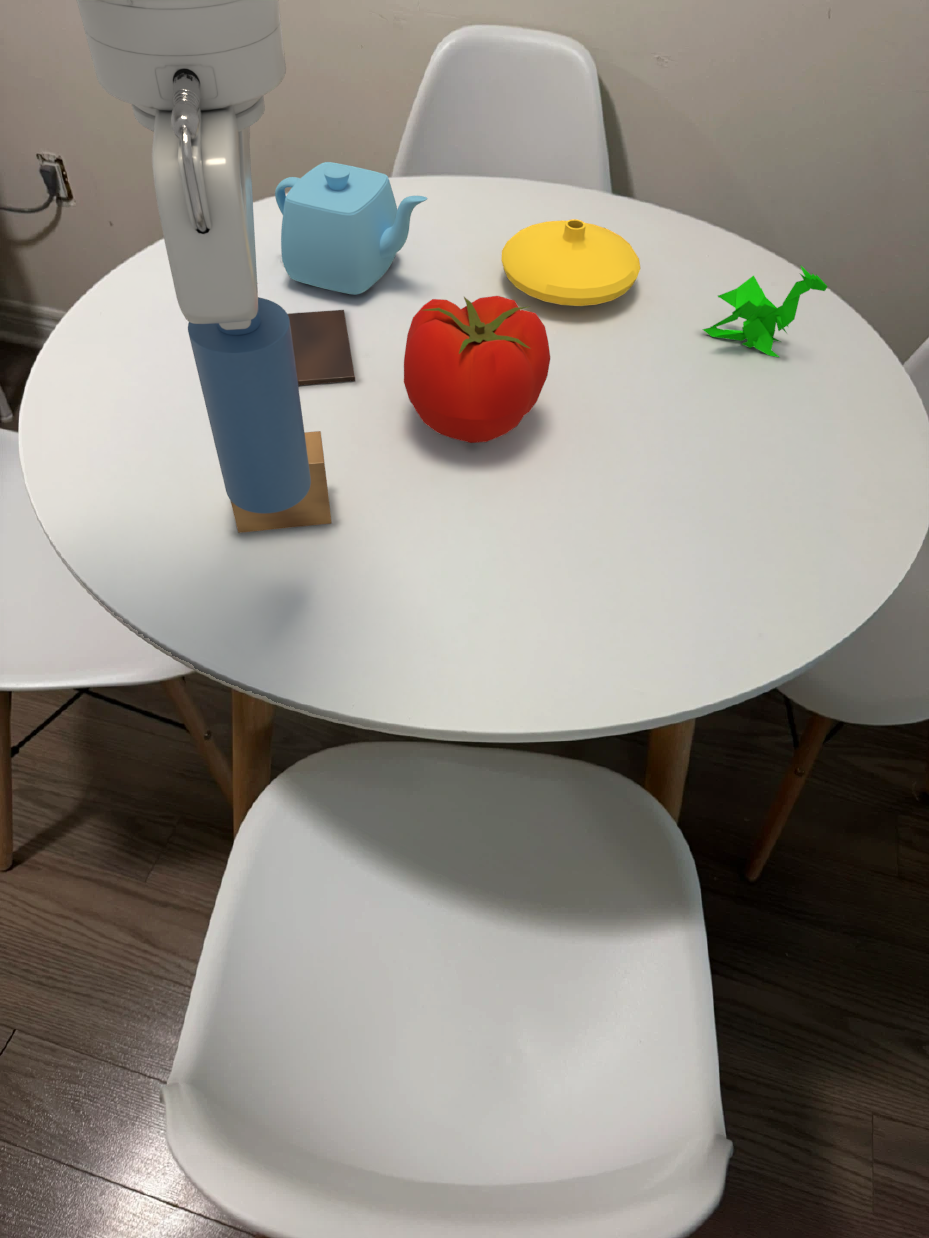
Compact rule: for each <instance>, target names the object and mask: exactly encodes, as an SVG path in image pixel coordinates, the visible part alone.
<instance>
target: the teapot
mask: <svg viewBox="0 0 929 1238" xmlns="http://www.w3.org/2000/svg"><path fill="white" fill-rule="evenodd" d="M287 188H290V189H289V191H288V192H287V194H286V189H287ZM393 191H394V190H393V188H392V184H391V181H390V178H389V176H388V175H387V174H386V173H382V172H380V171H379V172H378V171H375V170H370V169H367V168H362V167H358V166H353V165H349V164H343V163H337V162H331V161H325V162H322V163H319V164H318V165H316V166H314V167H313V168H311V169H310V170H309V171H307V172H306V173H305V174H304V175H303V176H301V177H296V176H289V177H285V178H284V179H282V180H281V181H280V182H279V183H278V184H277V186H276V187H275V191H274V198H275V202H276V205H277V207H278V209H279V211H280V213H281V215H282V221H281V231H280V251H281V261H282V264H283V265H282V266H283V267H284V269H285V272H286V273H287V275H288V277H289V278H290V279H291V280H293V281H296V282H299V283H302V284H306V285H309V286H313V287H317V288H320V289H325V290H329V291H333V292H338V293H343V294H349V295H355V296H356V295H360V294H363V293H365V292H366V291H368V290H369V289H370V288H371V287H373V286H374V285H375V284H376V283H377V282H378V281H379V280H380V279H381V278H382V277H383V276H385V274H386V273H387V271H388V270H389V269H390V267H391V265H392V263H393V261H394V260H395V258H396V255H397V253H398V252H400V251H401V250H402V248H403V247H404V246H405V244H406V242H407V240H408V236H409V232H410V226H411V225H410V224H411V216H412V213H413V211H414V209H415V208H416V207H417V206H418V205H420V204H422V203H423V202H426V201H428V196H427V197H426V196H424V195H409V196H406V197H404V198H403V199H402V200H401V201H400V203H399V205H397V202H396V197H395V195H394V192H393Z"/></svg>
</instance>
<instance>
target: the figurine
mask: <svg viewBox="0 0 929 1238" xmlns="http://www.w3.org/2000/svg"><path fill="white" fill-rule="evenodd" d="M800 268H801V272H802V273H799V275H800V277H801V278H802V280H798V281H795V283H794V284H793V285H792V288H791V289H790V291H789V292H788V294H787V296H786V297H785V299H784V300H783V302H782V305H780V306H776V305H775V304H774V303H773V302H772V301H771V300H770V299H769V298H768V297H766V294H765V292H764V290H763V288H762V287H760V284H759V282H758V280H757V279H756V277H755V275H752V276H751V277H750V278H748V279H747V280H745V281H744V282H743V283H742V284H740V285H739V286H738V287H737V288H734V289H731V290H728V291H726V292H724V293H722V294H717V298H720V299H721V300H722V301H724V302H726V303H727V304H729V305H730V306H732V307H733V308H734V311H731V314H730V315H729V316H727V317H725V318H723V319H722V320H720V321H718V322H716V323H714V324H713V325H712V326H709V327H707V328H703V329H702V331H704V333H706V334H707V335H708V336H710V337H712V338H718V339H726V340H732V341H740V342H742V343H741V345H742V346H745V347H747V348H749V349H751V348H754V349H756V350H758V351H759V352H762V353H764V354H766V355H767V356H770V357H775V358H780V355H778V354H777V353H776V352H774V350H772V349H773V344H774V342H780V343H782V341H781V340H779V339H777V338H775V332H776V326H777V331H778V332H780V331H784V332H785V334H788V332H787V331H786V329H785V328H786V327H787V328H789V325H791V323H792V322H794V320H795V318H796V314H797V311H798V306H799V302H800V297H801V295H803V294H805V293H808V292H809V291H810V290H813V291H819V292H820V291H821V292H825V291H826V290H827V289H828V287H829V286H828V285H827V284H826V283H825V282H824V281H823V280H822V279H821V277H820V276H819V275H818V274H817V273H816V274H814V273H812V274H811V273H810V272H809V271H807V269H805V267H803V265H801V264H800ZM739 318H741V319H743V320H744V321H743V322H742V327H741V329H742V330H740V329H739V330H738V329H725V328H724V329H722V328H719V327H720V326H723V325H726V324H729V323H732V322H734V321H737V320H739ZM745 340H746V341H745ZM743 341H745V342H743Z"/></svg>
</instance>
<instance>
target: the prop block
mask: <svg viewBox="0 0 929 1238" xmlns="http://www.w3.org/2000/svg"><path fill="white" fill-rule="evenodd" d="M304 433H305V440H306V448H307V455H308V463H309V470H310V478H311V485H310V489H309V491H308V493H307V495H306V496H305V497H304V498H303V499H302V500H301V501H300V502H299V503H297V504H296V505H294V506H293V507H291V508H288V509H286V510H283V511H280V512H275V513H254V512H249V511H246V510H243V509H241V508H239V507H238V506H236V505H235V504H234V503H233V502H232V501H231V500H230V499H229V500H230V501H229V502H230V505H231V509H232V513H233V517H234V521H235V526H236V529H237V533H238V534H243V533H251V532H260V531H271V530H281V529H291V528H301V527H309V526H320V525H330V524H332V514H331V506H330V496H329V487H328V480H327V471H326V464H325V463H326V462H325V454H324V448H323V446H324V445H323V438H322V432H321V430H317V431H304Z"/></svg>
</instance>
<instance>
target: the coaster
mask: <svg viewBox="0 0 929 1238" xmlns="http://www.w3.org/2000/svg"><path fill="white" fill-rule="evenodd" d="M287 314H288V316H289V320H290V327H291V335H292V342H293V350H294V357H295V365H296V372H297V380H298V387H300V386H311V385H312V386H313V385H323V384H324V385H326V384H337V383H348V382H349V383H351V382H355V381H356V375H355V370H354V369H355V368H354V362H353V357H352V352H351V345H350V338H349V332H348V326H347V321H346V314H345V309H333V310H322V311H321V310H320V311H319V310H318V311H305V312H290V313H287Z"/></svg>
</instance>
